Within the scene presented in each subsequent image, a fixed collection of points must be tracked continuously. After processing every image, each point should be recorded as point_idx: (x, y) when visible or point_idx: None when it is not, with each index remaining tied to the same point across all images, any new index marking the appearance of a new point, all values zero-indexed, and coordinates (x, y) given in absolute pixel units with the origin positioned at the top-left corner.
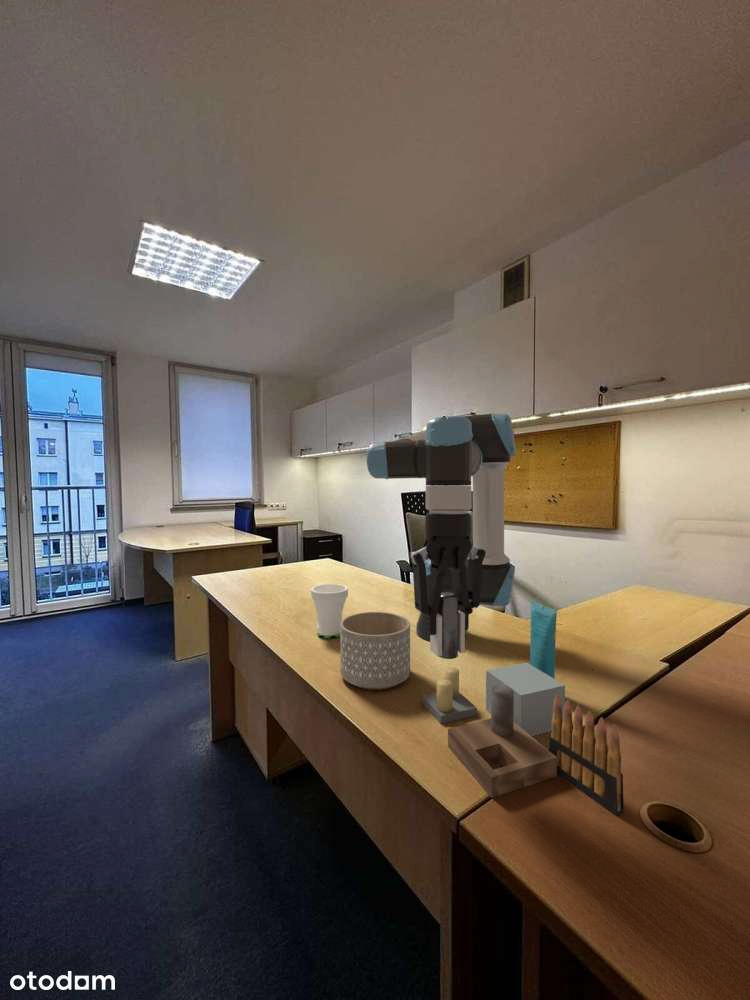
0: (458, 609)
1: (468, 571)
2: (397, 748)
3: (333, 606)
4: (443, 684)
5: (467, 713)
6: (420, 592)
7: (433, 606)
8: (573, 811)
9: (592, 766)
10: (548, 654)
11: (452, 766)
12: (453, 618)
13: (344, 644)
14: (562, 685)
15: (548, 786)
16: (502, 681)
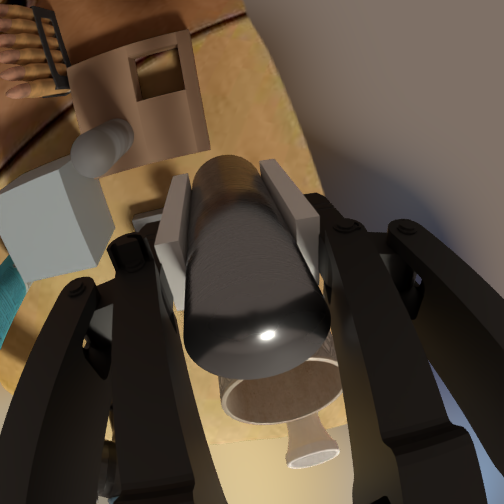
0: (172, 297)
1: (90, 491)
2: (290, 152)
3: (309, 436)
4: None
5: (150, 213)
6: (484, 281)
7: (367, 244)
8: (95, 12)
9: (40, 29)
10: None
11: (220, 98)
12: (230, 210)
13: None
14: None
15: (99, 50)
16: (76, 222)
